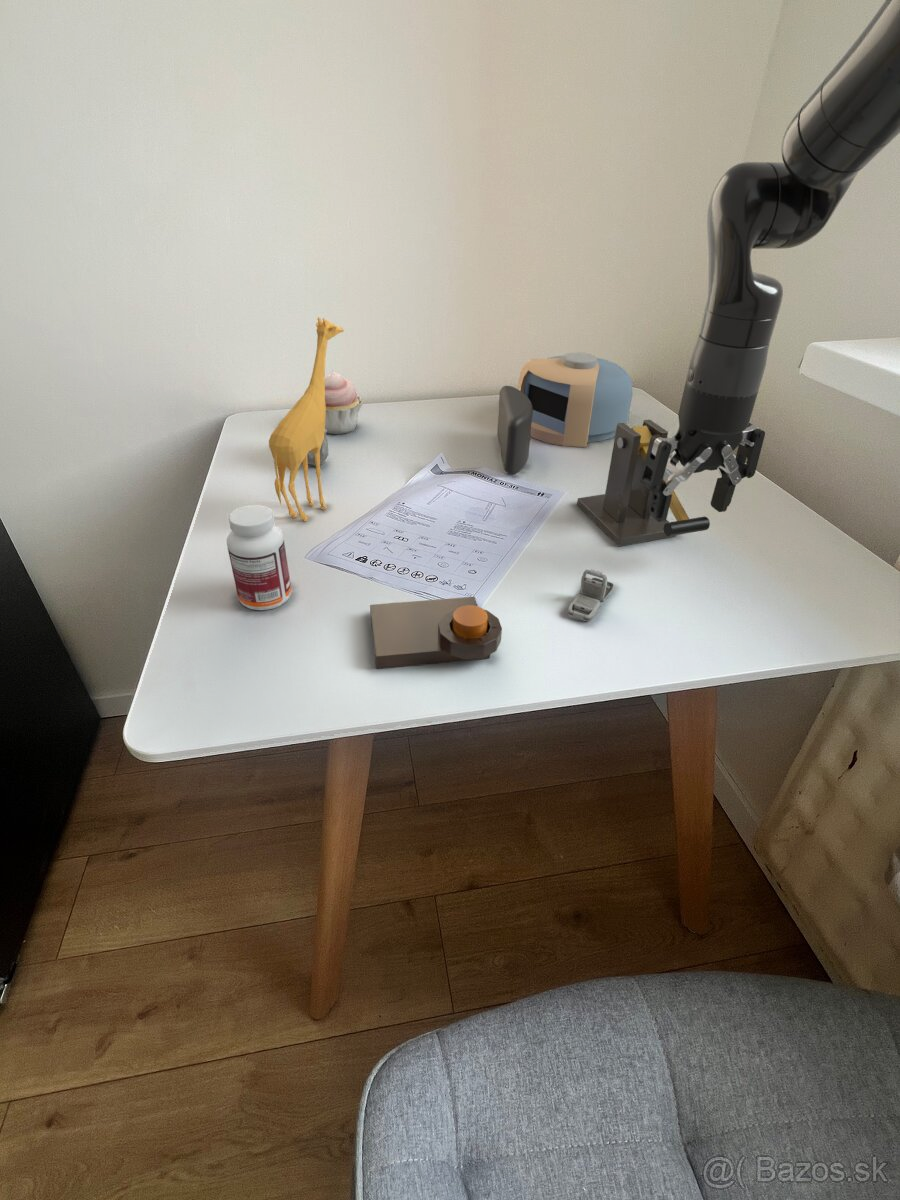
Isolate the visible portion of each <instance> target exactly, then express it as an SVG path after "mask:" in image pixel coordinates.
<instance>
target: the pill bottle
mask: <svg viewBox="0 0 900 1200" xmlns="http://www.w3.org/2000/svg"><path fill="white" fill-rule="evenodd" d="M228 522H229V528H230V532H229V533H228V535H227V537H226V546H227V552H228V556H229V561H230V566H231V571H232V575H233V579H234V585H235V589H236V594H237V598H238V601H239V602H240V604H241V605H242V606H244V607H246V608H247V609H250V610H255V611H268V610H273V609H276V608H278V607H280V606H282V605H283V604H285V603H286V602H287V601H288V600H289V599H290V597H291V595H292V583H291V577H290V571H289V565H288V557H287V551H286V543H285V539H284V534H283V533H284V532H283V531H282V530H281V529H280V527H279V526H278V525H276V524H275V518H274V513H273V511H272V509H271V508H269V507H268V506H265V505H261V504H249V505H244V506H240V507H238V508H235V509H234V510H232V511H231V512H230V514H229V515H228Z"/></svg>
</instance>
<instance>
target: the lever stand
mask: <svg viewBox="0 0 900 1200" xmlns="http://www.w3.org/2000/svg"><path fill="white" fill-rule="evenodd" d="M642 426H647V427H648V429H649V431H650V433H651V435H652V436H653V435H659V436H660V437H662V438H668V435H669V431H667V429H665V428H663V427H662V426H661V425H659V424H657V423H656V422H654V421H653V420H652V419H644V420H643V421H642ZM640 439H641V435H640V434H639V433H637V432H636V431H634V430H633V429H632V427H630V426H629V425H627V423H626V424H625V423H617V427H616V433H615V436H614V440H613V445H612V452H611V458H610V464H609V469H608V474H607V475H608V476H607V481H606V487H605V493H603V494H596V495H589V496H584V497H577V501H576V506H577V507H578V508H579V509H580V510H581V511H582V512H583V513H584V514H585V515H586V516H587V517H588V518H589V519H590V520H591V521H592V522H593V523H594V525H595V526H597V527H598V528H599V529H600V530H601V532H602V533H604V534H605V535H606V536H607V537H608V539H610V540H611V541H612V542H613V543H614V544H615V545H616V546H617V547H624V546H629V545H635V544H641V543H647V542H652V541H658V540H664V539H668V538H674V537H677V535H675V536H669V537H668V536H666V535H665V533H664V525H665V524H666V523H669V522H670V521H669V520H668V519H666V521H664V522H658V521H657V520H656V519H655V518H653V517H652V515H651V513H650V512H649V507H650V503H651V498H652V494H653V492H652V491H650V490H649V489H648V488H647V487H645V486H644V485H643V484H642V483H641V482H640V477H641V473H642V469H643V465H644V462H645V461H644V459H643V457H642V455H638V450H639V444H640Z"/></svg>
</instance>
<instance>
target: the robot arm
mask: <svg viewBox="0 0 900 1200" xmlns="http://www.w3.org/2000/svg"><path fill="white" fill-rule="evenodd" d="M899 134H900V0H885V1H884V2H883V3H882V5H881V6H880V7H879V9H878V10H877V12H876V13H875V15H874V16H873V17H872V18H871V20H870V21H869V22H868V24H867V26H865V28H864V29H863V31H862V32H861V33H860V35H859V36H858V37H857V39H855V41H854V42H853V43H852V45H851V46H850V48H849V49H848V50H847V51H846V52H845V54H844V55H843V56H842V57H841V59H840V60H839V61H838V62H837V63H836V65H835V66H833V68H832V70H831V71H830V72H829V73H828V74H827V75H826V77H825V78H824V79H823V80H822V81H821V83H820V84H819V85H818V87H817V88H816V89H815V90H814V91H813V93H812V94H811V95H810V96H809V97H808V98H807V100H806V101H805V102H804V103H803V105H802V106H801V107H800V108H799V109H798V111H797V112H796V113H795V115H794V116H793V117H792V119H791V120H790V122H789V124H788V125H787V127H786V129H785V131H784V134H783V136H782V141H781V148H780V149H781V158H782V162H777V161H775V162H773V161H772V162H771V161H767V162H765V161H745V162H739V163H736V164H735V165H733V166H732V167H730V168H729V169H728V170H726V171H725V172H724V174H723V175H722V176H721V177H720V178H719V180H718V182H717V183H716V185H715V186H714V189H713V191H712V193H711V196H710V198H709V202H708V206H707V212H706V213H707V214H706V215H707V216H706V217H707V218H706V219H707V220H706V230H707V231H706V232H707V233H706V234H707V249H708V250H707V252H708V253H707V254H708V255H707V256H708V267H707V268H708V269H707V270H708V271H707V273H708V280H707V281H708V283H707V284H708V285H707V286H708V288H707V299H706V302H705V306H704V311H703V316H702V318H701V323H700V329H699V333H698V336H697V340H696V343H695V345H694V348H693V350H692V354H691V356H690V357H691V358H690V361H689V365H688V369H687V373H686V379H685V383H684V386H683V392H682V396H681V400H680V404H679V408H678V414H677V417H678V429H677V432H676V433H675V434H674V437H673V436H672V437H673V438H672V437H667V438H662V437H660V436H659V435H653V436H652V437H651V439H650V442H649V446H648V450H647V454H646V458H645V462H644V465H643V469H642V473H641V477H640V482H641V483H642V484H643V485H644V486H645V487H647V488H648V489H649V490H650V491H652V492H653V494H652V498H651V503H650V507H649V512H650V513H651V515H652V517H653V518H655V519H656V520H657V521H658V522H664V521H666V520H668V515H669V511H670V503H671V498H672V494H671V493H672V492H673V490H674V491H675V489H677V487H678V486H679V484H681V483H683V482H686V481H688V479H689V478H690V477H691V476H692V475H693V474H697V473H702V472H704V471H718V473H719V476H721V477H717V479H716V482H715V486H714V488H713V493H712V497H711V500H710V507H712V508H713V509H714V510H715V511H717V512H718V513H724V512H727V509H728V507H730V506H731V505H730V504H731V503H732V499H733V496H734V493H735V490H736V486H737V485H738V484H740V483H741V481H742V479H744V478H748V479H751V478H753V477H754V476H755V474H756V471H757V468H758V464H759V460H760V456H761V451H762V448H763V444H764V441H765V437H766V432H765V430H763V429H761V428H760V427H758V426H756V425H754V424H753V423H750V422H751V418H752V414H753V412H754V407H755V404H756V400H757V398H758V397H757V396H758V394H759V390H760V387H761V383H762V381H763V378H764V373H765V370H766V366H767V361H768V353H769V347H770V343H771V340H772V337H773V333H774V331H775V327H776V323H777V320H778V315H779V313H780V309H781V305H782V301H783V296H784V290H783V289H784V288H783V285H782V283H781V282H780V281H779V280H778V279H776V278H774V277H772V276H770V275H766V274H762V273H758V272H755V271H753V267H752V255H751V254H752V250H765V249H767V250H768V249H769V250H770V249H771V250H772V249H775V250H776V249H778V250H779V249H784V250H785V249H792V248H795V247H798V246H800V245H803V244H805V243H806V242H808V241H810V240H811V239H813V238H814V237H816V236H818V234H819V233H820V232H821V231H822V230H823V229H824V228H825V227H826V225H827V224H828V222H829V221H830V219H831V218H832V217H833V215H834V213H835V211H836V209H837V207H838V206H839V204H840V203H841V201H842V199H843V198H844V197H845V195H846V193H848V190H849V189H850V187H851V185H852V183H853V182H854V180H855V179H856V177H857V175H858V173H859V172H860V171H861V170H863V169H864V168H865V167H867V165H869V163H871V161H872V160H873V159H875V157H877V155H878V154H880V152H882V150H884V149H885V148H886V147H887V146H888V145H889V144H890V143H891V142H892V141H893V140H894V139H895V138H896V137H898V136H899ZM736 449H737V450H736ZM673 450H674V451H673ZM735 450H736V455H734V451H735ZM672 451H673V453H672ZM679 463H680V465H682V466H683V467H682V468H678V467H677V465H678V464H679ZM667 479H668V482H667V483H666V482H665V481H666V480H667Z"/></svg>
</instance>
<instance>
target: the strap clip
mask: <svg viewBox="0 0 900 1200" xmlns="http://www.w3.org/2000/svg"><path fill="white" fill-rule="evenodd" d="M587 575H590V576H593V577H592V578H590V577H586V576H587ZM580 582H581V583H580V593H581V594H578V595H576V597H575V598H574V599H573V600H572V601H571V602H570V604H569V606H568V609H567V615H568V616H570V617H572V618H575V619H577V620H581V621H585V622H591V621H592V620H593V619H595V617H596V615H597V613H598V612H599V609H600V606H601V602H604V601H605V600H607V598H608V597H609V596H610V594H611V593H612V591H613V588H614V583H612V582H610V581H608V577H607V575H606V574H604V573H603V571H599V570H596V569H593V568H590V569H585V570H584V571H583V572H582V575H581V581H580Z"/></svg>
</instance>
